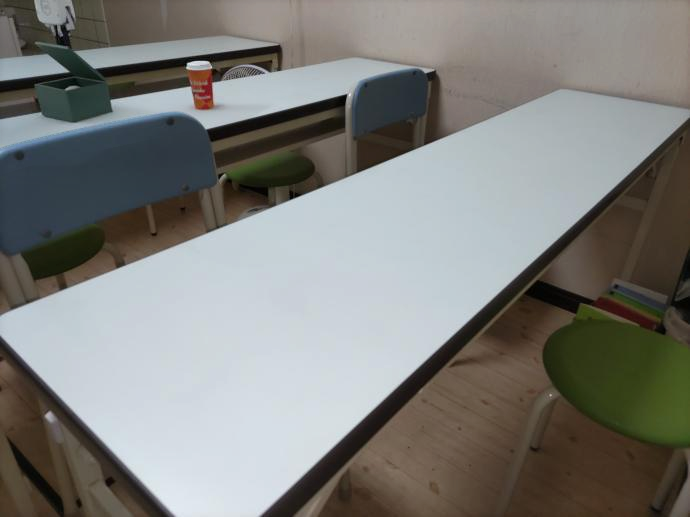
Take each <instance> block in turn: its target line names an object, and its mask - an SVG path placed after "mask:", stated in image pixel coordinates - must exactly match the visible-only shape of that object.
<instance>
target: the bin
mask: <svg viewBox="0 0 690 517" xmlns="http://www.w3.org/2000/svg"><path fill="white" fill-rule="evenodd" d="M33 84H34V83H33ZM33 86H34V89H35V92H36V97H37V100H38V104H39V108H40V112H41V115H42V116H44V117H48V118H53V119H56V120H60V121H64V122H68V123H73V124H75V123H78V122H82V121H86V120H89V119H92V118H96V117H99V116H103V115H106V114H110V113H113V112H114V111H113V106H112V102H111V97H110V91H109V87H108V82H107V81H106V82H104V81H98V80H93V79H88V78H83V77H78V76H71V77H66V78H60V79H56V80H50V81H44V82H41V83H35V84H34V85H33ZM70 86H78V87H80V88H75V89H71V90H65V89H66V88H68V87H70Z"/></svg>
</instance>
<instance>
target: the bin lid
mask: <svg viewBox="0 0 690 517" xmlns="http://www.w3.org/2000/svg"><path fill="white" fill-rule="evenodd" d="M34 45H36V46H37V47H38V48H39V49H40V50H42V51H43V52H45V54H47V55H48V56H49V57H50V58H52V59H53V60H54V61H56V63H57V64H59V65H60V66H62V67H63V68H64V69H65V70H67V71H68V72H69V73H70V74H72V75H73V77H81V78H86V79H91V80H96V81H101V82H106V83H107V81H108V79H107V78H106V77H105V76H104V75H102V74H101V73H100V71H97V69H95V68H94V67H93V66H92V65H90V64H89V62H87V61H86V60H85V59H83V58H82V57H81V55H79V54H78V53H76V52H75V51H74V50H73V48H72V49H71V48H69V47H67V46H61V45H57V44H54V43H47V42H41V41H35V42H34Z"/></svg>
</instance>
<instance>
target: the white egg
mask: <svg viewBox="0 0 690 517" xmlns="http://www.w3.org/2000/svg"><path fill="white" fill-rule="evenodd" d="M75 88H80V87H78V86H70V87H68V88H66V89H65V90H71V89H75Z"/></svg>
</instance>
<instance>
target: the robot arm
mask: <svg viewBox="0 0 690 517" xmlns="http://www.w3.org/2000/svg"><path fill="white" fill-rule="evenodd" d="M33 1H34V7H35V11H36V16H37V19H38V21H39V22H40V23H42V24H44V26H45V27H47V28H49V29H50V30H51V32H52V33H51V34H52V35H53V36H54V38H55V43H56V45H61V46H67V47H69V48H71V49H72V50H73V48H72V44H71V43H72V42H71V37H70V36H71V31H72V30H73V31H74V30H75V29H76V27H75V23H76V14H75V9H74V5H73V2H72V0H33Z"/></svg>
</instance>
